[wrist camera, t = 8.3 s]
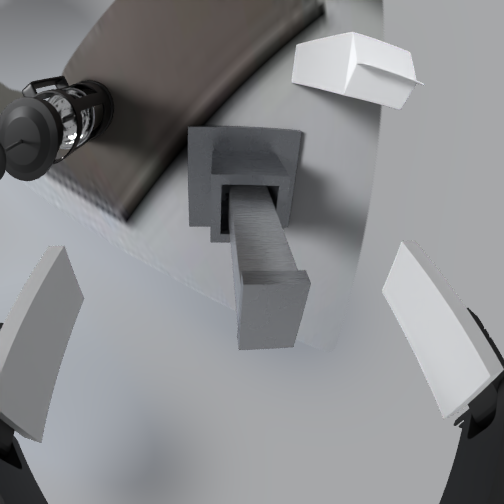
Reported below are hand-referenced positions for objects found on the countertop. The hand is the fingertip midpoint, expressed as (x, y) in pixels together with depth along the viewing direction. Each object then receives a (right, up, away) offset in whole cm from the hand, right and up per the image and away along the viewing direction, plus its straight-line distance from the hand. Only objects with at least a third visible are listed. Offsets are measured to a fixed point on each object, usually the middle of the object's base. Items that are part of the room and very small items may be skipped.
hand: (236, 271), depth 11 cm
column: (0, +7, +27) cm, 28 cm away
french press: (-24, +22, +24) cm, 40 cm away
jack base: (-1, +12, +33) cm, 35 cm away
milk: (+9, +27, +24) cm, 37 cm away
